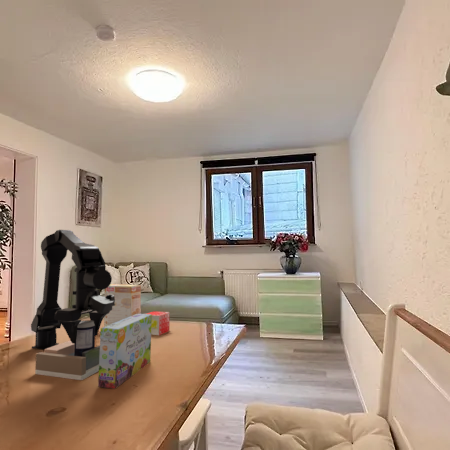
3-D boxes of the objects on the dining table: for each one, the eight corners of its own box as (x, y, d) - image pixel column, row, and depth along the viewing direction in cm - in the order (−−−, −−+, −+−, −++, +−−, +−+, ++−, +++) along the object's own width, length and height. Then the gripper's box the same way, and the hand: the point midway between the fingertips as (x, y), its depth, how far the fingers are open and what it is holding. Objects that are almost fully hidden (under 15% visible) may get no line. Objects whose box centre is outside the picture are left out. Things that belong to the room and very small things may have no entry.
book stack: (43, 367, 98) (43, 349, 98) (75, 353, 110) (76, 338, 110) (55, 368, 96) (56, 350, 97) (87, 355, 109) (87, 339, 109)
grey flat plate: (81, 370, 94) (82, 352, 95) (108, 357, 106) (109, 341, 106) (84, 371, 94) (85, 352, 95) (111, 357, 106) (111, 341, 106)
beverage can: (98, 360, 103) (99, 320, 104) (83, 366, 98) (84, 324, 99) (85, 358, 105) (85, 319, 106) (69, 364, 100) (70, 323, 101)
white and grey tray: (35, 373, 96) (35, 353, 96) (80, 354, 113) (80, 337, 113) (81, 380, 91) (81, 358, 91) (121, 359, 108) (121, 341, 108)
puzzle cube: (143, 333, 141) (143, 314, 142) (154, 329, 148) (154, 311, 149) (159, 335, 138) (159, 315, 139) (169, 331, 145) (169, 312, 146)
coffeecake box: (141, 329, 149) (141, 284, 150) (130, 332, 142) (131, 286, 144) (114, 326, 155) (115, 283, 156) (103, 329, 148) (104, 284, 150)
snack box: (117, 389, 85) (118, 328, 86) (97, 388, 86) (98, 327, 87) (152, 362, 105) (152, 313, 106) (135, 361, 107) (136, 312, 108)
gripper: (86, 291, 92) (85, 350, 91) (126, 284, 109) (125, 333, 108) (54, 290, 95) (52, 347, 94) (98, 283, 113) (97, 331, 112)
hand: (84, 339), depth 102 cm, fingers open, 9 cm apart
